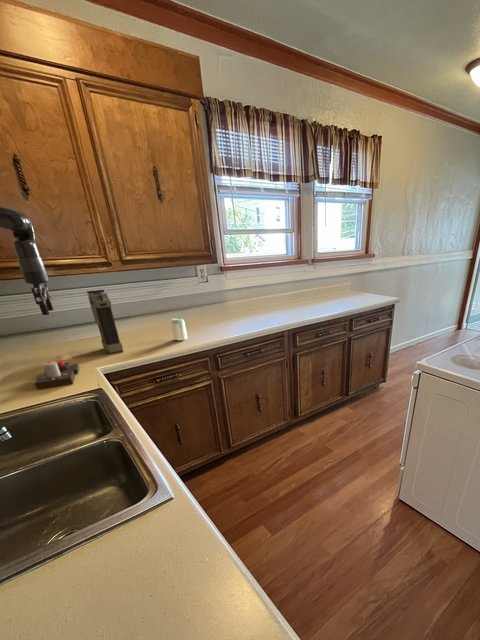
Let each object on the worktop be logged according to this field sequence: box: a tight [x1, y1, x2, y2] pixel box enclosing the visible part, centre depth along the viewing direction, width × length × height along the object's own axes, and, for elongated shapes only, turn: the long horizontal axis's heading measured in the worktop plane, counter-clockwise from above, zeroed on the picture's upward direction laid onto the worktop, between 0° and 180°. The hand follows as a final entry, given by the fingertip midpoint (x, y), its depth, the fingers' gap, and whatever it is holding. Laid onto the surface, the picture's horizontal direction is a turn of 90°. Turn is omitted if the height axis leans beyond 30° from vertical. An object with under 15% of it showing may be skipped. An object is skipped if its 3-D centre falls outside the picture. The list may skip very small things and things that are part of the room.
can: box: [171, 317, 188, 342], centre depth 186 cm, size 7×7×12 cm
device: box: [86, 289, 124, 355], centre depth 165 cm, size 14×8×30 cm, turn 42°
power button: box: [55, 360, 65, 367], centre depth 141 cm, size 4×4×2 cm
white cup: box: [42, 360, 61, 378], centre depth 131 cm, size 4×4×6 cm
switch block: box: [43, 361, 80, 375], centre depth 142 cm, size 12×8×4 cm, turn 118°
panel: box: [34, 370, 76, 391], centre depth 133 cm, size 12×10×3 cm
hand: (48, 312), depth 132 cm, fingers open, 8 cm apart
